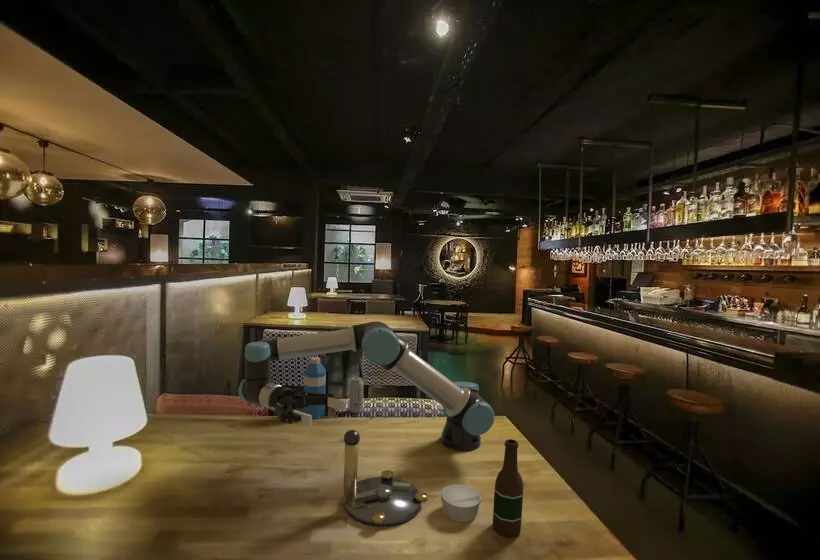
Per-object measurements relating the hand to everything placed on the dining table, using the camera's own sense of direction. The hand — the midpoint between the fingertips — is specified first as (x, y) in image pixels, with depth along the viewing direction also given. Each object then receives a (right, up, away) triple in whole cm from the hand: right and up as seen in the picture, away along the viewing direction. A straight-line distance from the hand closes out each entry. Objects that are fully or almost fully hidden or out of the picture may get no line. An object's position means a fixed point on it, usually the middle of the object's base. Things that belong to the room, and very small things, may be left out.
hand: (328, 413), depth 124 cm
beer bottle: (+49, -29, -8) cm, 57 cm away
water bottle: (-18, -21, +66) cm, 72 cm away
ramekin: (+37, -28, -1) cm, 46 cm away
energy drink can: (-1, -21, +72) cm, 75 cm away
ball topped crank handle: (+11, -24, 0) cm, 27 cm away
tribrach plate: (+15, -27, +2) cm, 31 cm away
